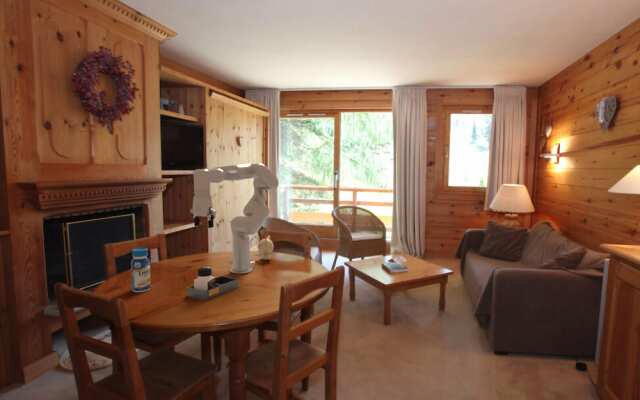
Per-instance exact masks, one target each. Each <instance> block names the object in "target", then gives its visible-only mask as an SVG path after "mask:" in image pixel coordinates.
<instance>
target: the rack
mask: <svg viewBox="0 0 640 400" xmlns="http://www.w3.org/2000/svg"><path fill="white" fill-rule="evenodd" d="M215 278H216V287H214V288H212V289H209V290H206V291H200V290H197V289H194V284H193V285H190V286H187V287H186V297H189V298H192V299H195V300H198V301H199V300H200V301H202V302H205V301H207V300H210V299H212V298H215V297H218V296H220V295H222V294H225V293H228V292H230V291H232V290H235V289H238V288H239V279H238V278H234V277H231V276H226V275H219V276H217V277H215Z"/></svg>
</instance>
